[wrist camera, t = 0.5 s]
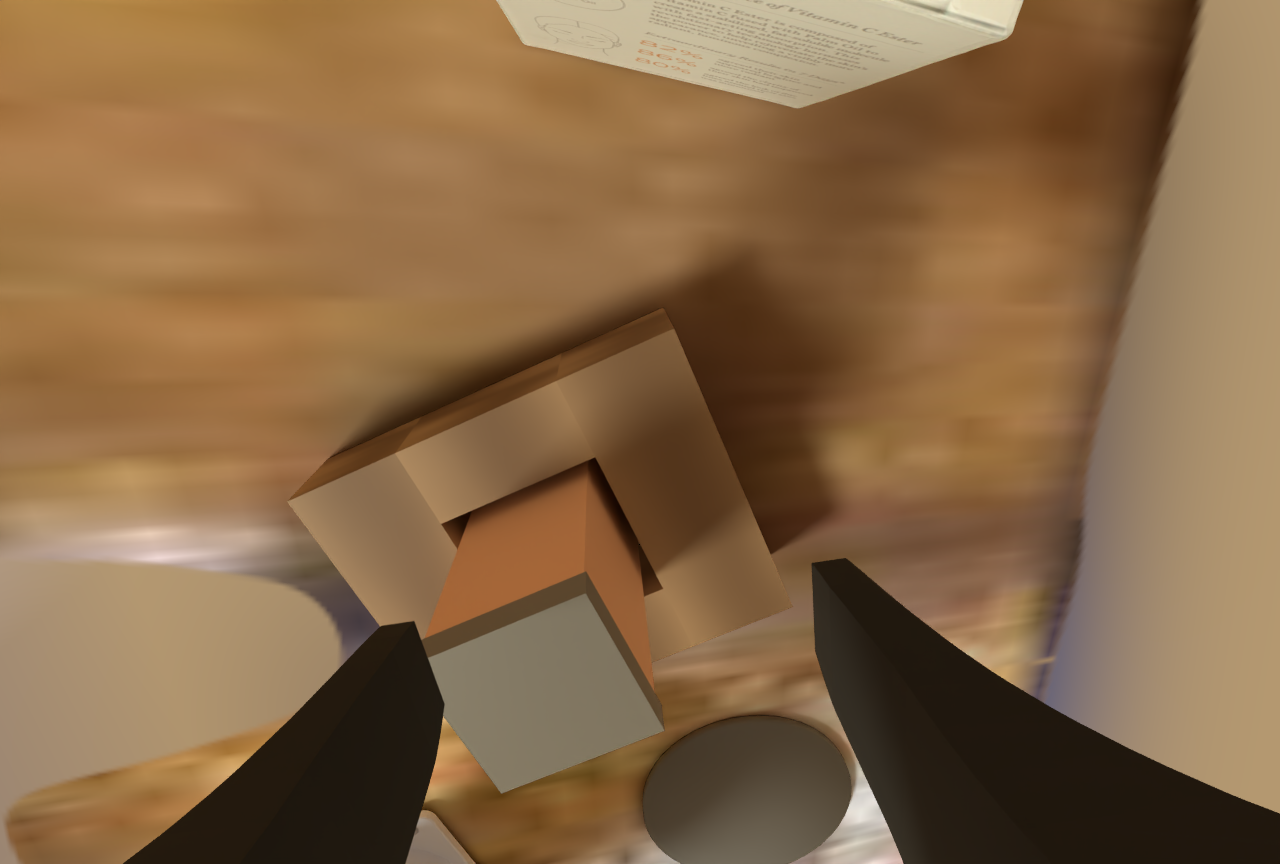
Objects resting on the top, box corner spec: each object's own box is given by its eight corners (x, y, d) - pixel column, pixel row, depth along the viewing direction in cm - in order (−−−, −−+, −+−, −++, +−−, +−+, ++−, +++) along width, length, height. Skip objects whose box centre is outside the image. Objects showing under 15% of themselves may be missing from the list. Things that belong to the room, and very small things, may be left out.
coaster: (689, 889, 30) (690, 898, 30) (608, 762, 27) (608, 771, 26) (872, 824, 29) (875, 832, 29) (811, 685, 26) (814, 692, 26)
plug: (534, 578, 23) (501, 793, 15) (477, 484, 22) (406, 666, 14) (640, 533, 23) (664, 730, 15) (589, 435, 21) (585, 593, 13)
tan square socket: (477, 674, 25) (463, 737, 22) (327, 458, 21) (287, 501, 18) (769, 556, 24) (792, 606, 21) (663, 307, 20) (674, 328, 17)
